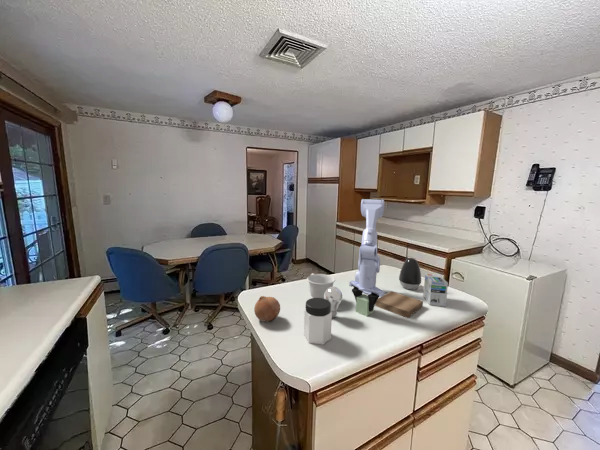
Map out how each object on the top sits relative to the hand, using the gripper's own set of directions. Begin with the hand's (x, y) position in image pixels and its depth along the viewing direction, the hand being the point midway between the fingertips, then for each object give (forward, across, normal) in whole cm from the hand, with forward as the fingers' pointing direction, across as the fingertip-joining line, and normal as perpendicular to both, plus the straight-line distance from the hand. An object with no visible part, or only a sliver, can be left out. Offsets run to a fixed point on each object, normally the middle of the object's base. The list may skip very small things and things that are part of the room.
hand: (364, 308), depth 104 cm
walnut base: (+2, +7, +15) cm, 17 cm away
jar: (+2, -1, -27) cm, 27 cm away
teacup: (+2, -20, -5) cm, 21 cm away
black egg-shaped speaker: (+2, +1, +39) cm, 39 cm away
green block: (+2, 0, 0) cm, 2 cm away
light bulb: (+2, -6, -13) cm, 14 cm away
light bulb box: (+2, +15, +32) cm, 35 cm away
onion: (+2, -21, -32) cm, 39 cm away
